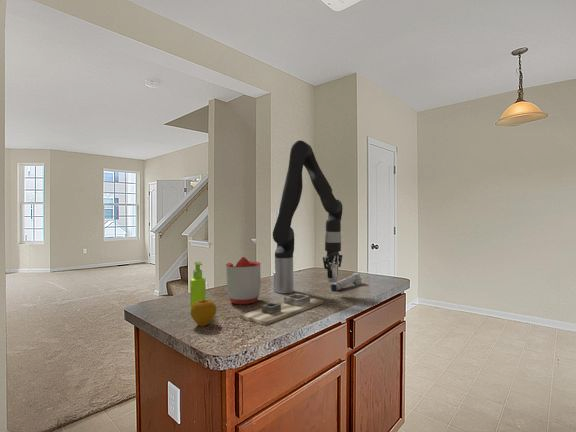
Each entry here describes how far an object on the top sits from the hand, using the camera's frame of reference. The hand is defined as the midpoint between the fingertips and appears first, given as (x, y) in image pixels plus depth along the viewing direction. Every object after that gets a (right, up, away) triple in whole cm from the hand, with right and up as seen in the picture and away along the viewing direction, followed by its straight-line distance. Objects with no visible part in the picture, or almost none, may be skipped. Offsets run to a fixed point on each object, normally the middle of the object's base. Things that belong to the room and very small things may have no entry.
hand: (332, 277), depth 154 cm
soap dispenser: (-57, -10, -23) cm, 62 cm away
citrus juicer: (-41, -10, -8) cm, 43 cm away
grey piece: (+10, -9, +18) cm, 22 cm away
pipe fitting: (0, -2, 0) cm, 2 cm away
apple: (-51, -10, -39) cm, 65 cm away
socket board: (-22, -9, -23) cm, 33 cm away
